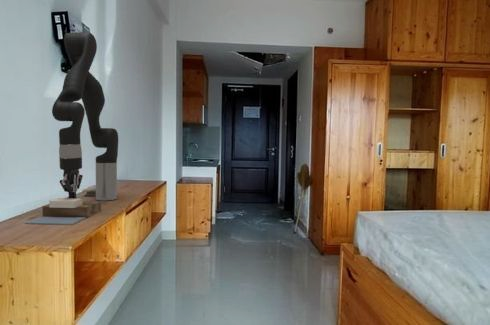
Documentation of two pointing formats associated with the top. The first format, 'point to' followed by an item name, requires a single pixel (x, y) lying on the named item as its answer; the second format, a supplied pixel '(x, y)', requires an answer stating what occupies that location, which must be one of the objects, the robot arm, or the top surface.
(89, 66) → the robot arm
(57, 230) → the top surface
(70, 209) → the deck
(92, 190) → the packaged product
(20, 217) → the top surface
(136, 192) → the top surface
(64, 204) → the cream thick tile
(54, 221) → the mat
